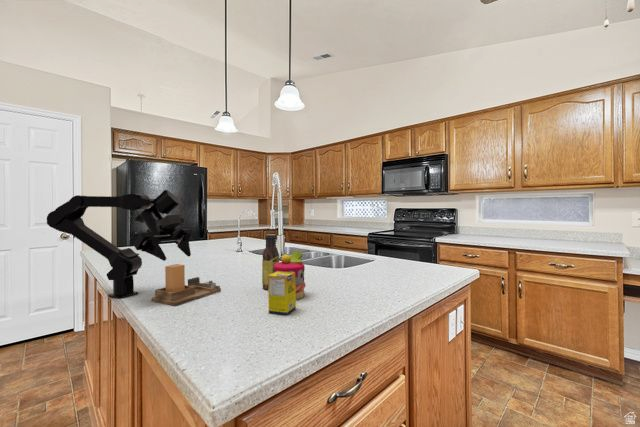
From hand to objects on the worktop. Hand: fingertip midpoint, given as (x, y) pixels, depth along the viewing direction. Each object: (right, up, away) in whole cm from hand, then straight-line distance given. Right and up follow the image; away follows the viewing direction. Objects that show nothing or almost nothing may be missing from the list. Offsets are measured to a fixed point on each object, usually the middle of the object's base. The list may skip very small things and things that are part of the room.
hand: (178, 257), depth 98 cm
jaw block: (-1, -13, +1) cm, 13 cm away
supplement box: (+35, -14, -11) cm, 40 cm away
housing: (+1, -14, +4) cm, 14 cm away
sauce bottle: (+28, -13, +14) cm, 34 cm away
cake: (+36, -14, +3) cm, 39 cm away
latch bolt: (+7, -12, +9) cm, 17 cm away
